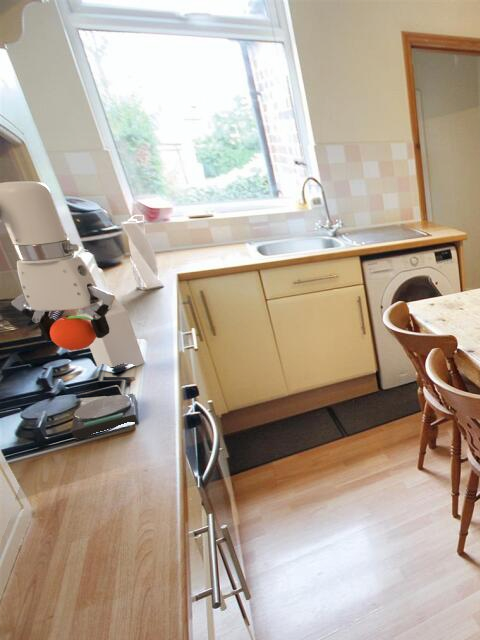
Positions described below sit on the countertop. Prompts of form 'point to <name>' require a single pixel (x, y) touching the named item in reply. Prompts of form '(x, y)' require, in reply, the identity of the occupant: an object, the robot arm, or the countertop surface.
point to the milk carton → (116, 339)
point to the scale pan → (103, 407)
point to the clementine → (73, 332)
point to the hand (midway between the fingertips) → (78, 336)
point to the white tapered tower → (142, 254)
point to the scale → (106, 421)
